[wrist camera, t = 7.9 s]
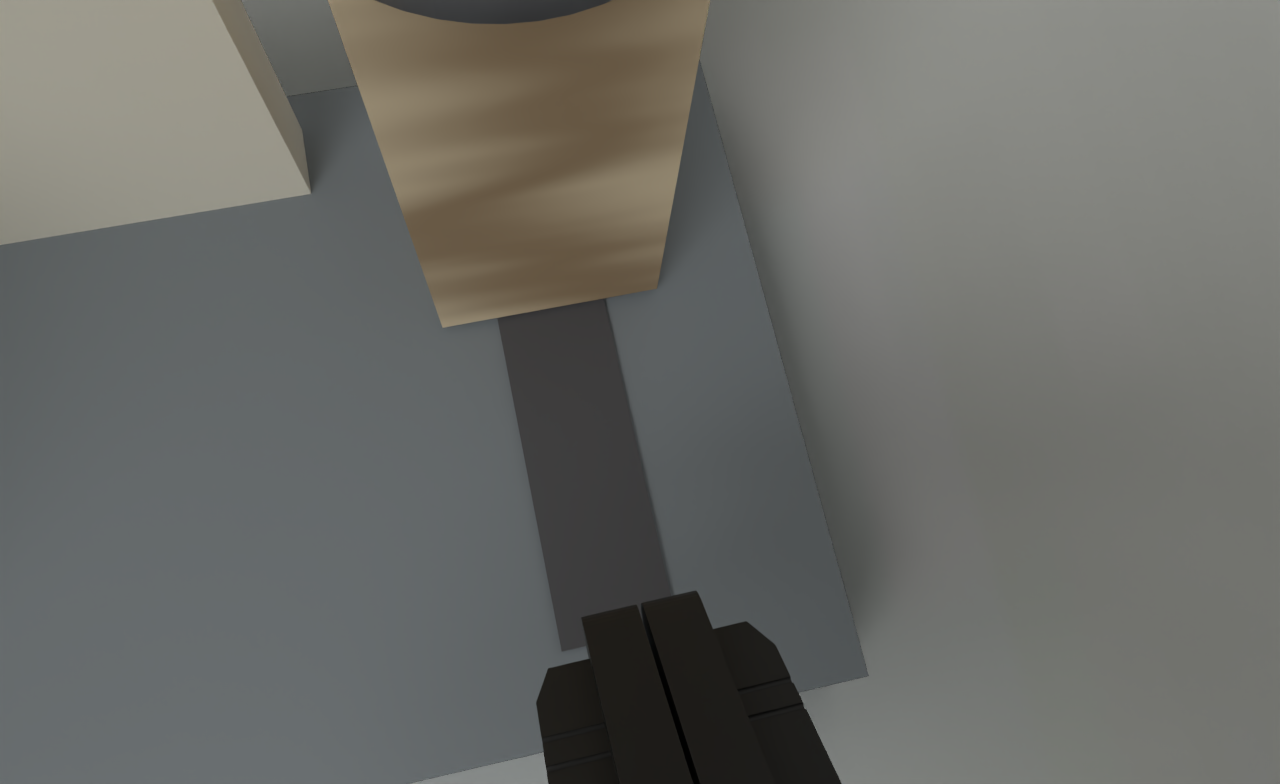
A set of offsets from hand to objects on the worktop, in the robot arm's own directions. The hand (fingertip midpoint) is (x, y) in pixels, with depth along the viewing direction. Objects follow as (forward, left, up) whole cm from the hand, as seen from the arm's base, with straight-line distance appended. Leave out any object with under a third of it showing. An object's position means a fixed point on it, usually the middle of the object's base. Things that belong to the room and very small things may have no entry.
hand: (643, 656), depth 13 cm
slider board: (-8, +6, -7) cm, 12 cm away
